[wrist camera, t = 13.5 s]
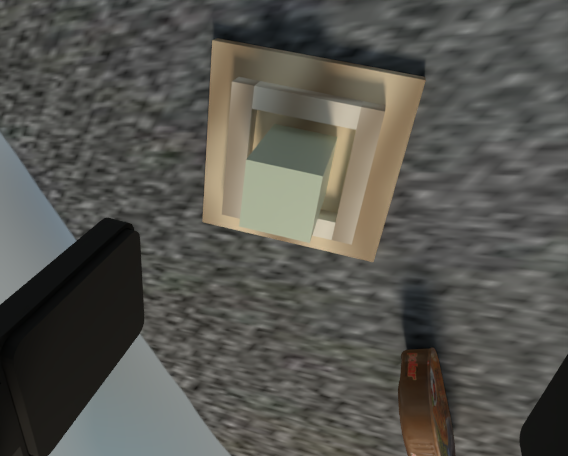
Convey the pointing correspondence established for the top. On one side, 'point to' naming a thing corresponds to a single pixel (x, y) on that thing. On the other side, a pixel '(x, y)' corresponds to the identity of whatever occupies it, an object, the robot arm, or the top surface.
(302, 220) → the pale green block
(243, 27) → the top surface
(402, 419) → the tin
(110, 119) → the top surface
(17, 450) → the robot arm
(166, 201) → the top surface
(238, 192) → the end holder
